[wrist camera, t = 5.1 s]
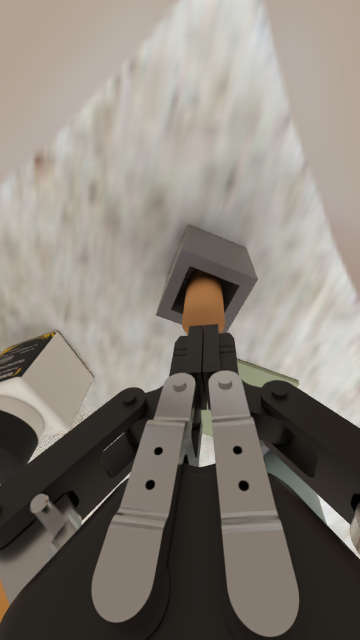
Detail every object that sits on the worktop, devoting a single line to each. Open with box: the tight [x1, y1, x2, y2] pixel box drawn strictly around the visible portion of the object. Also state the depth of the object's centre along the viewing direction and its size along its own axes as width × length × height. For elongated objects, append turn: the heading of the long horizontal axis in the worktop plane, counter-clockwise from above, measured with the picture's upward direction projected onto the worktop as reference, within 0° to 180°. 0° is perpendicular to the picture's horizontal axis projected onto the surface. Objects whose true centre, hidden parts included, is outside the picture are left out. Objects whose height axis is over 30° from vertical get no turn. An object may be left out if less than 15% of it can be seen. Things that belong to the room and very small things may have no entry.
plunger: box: [182, 269, 225, 335], centre depth 18 cm, size 2×2×6 cm
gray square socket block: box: [156, 224, 258, 333], centre depth 21 cm, size 5×5×6 cm
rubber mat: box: [201, 359, 299, 437], centre depth 31 cm, size 12×12×1 cm
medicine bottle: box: [0, 331, 94, 484], centre depth 26 cm, size 7×7×12 cm
